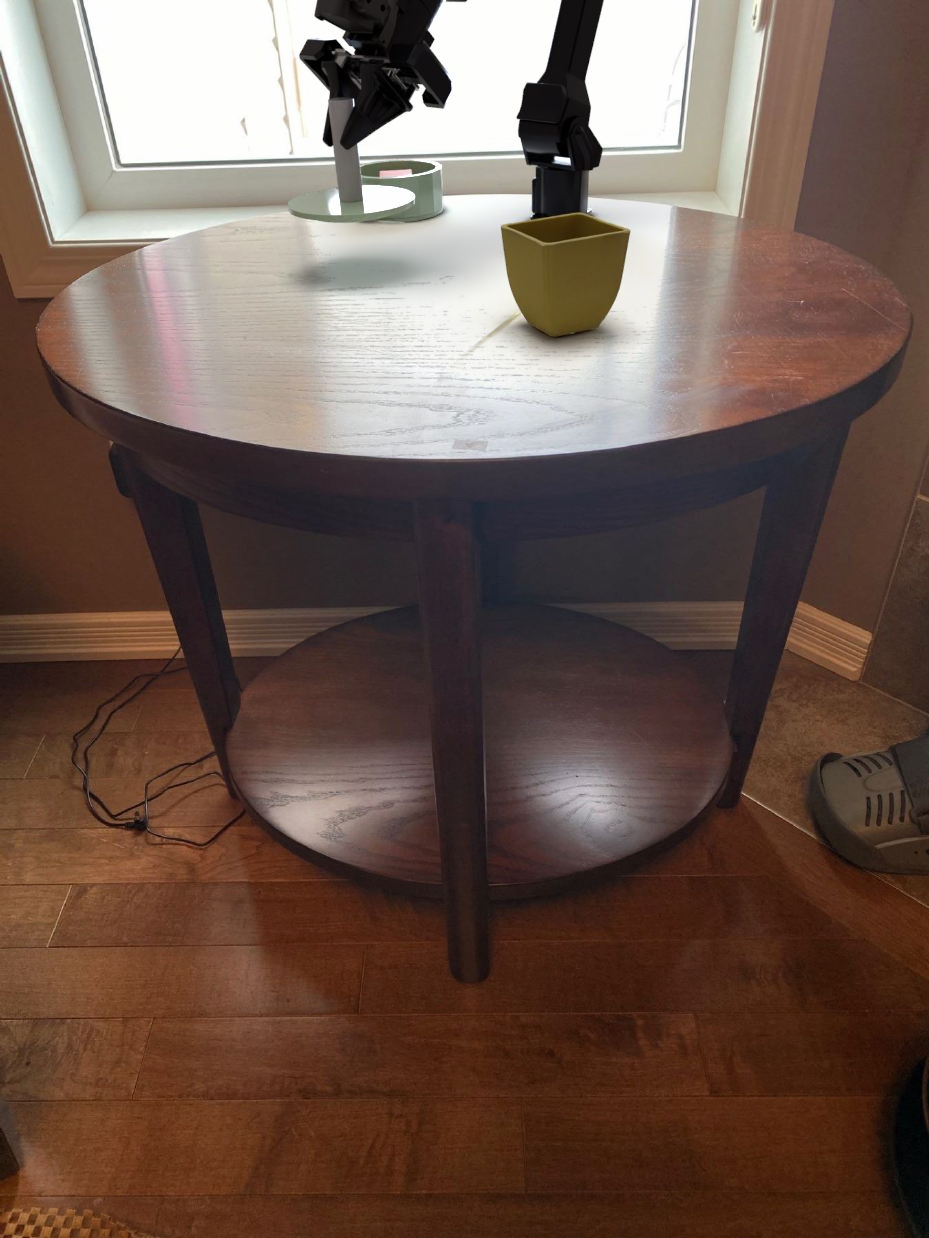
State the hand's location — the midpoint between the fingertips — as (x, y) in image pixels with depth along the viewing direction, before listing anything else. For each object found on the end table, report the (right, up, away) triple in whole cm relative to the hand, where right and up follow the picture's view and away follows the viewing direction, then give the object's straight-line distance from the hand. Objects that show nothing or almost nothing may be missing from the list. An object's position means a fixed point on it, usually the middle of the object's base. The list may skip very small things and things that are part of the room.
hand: (334, 145), depth 93 cm
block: (+4, +9, +33) cm, 34 cm away
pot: (+4, +8, +33) cm, 35 cm away
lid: (+1, -4, +4) cm, 6 cm away
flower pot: (+23, -21, -7) cm, 32 cm away
